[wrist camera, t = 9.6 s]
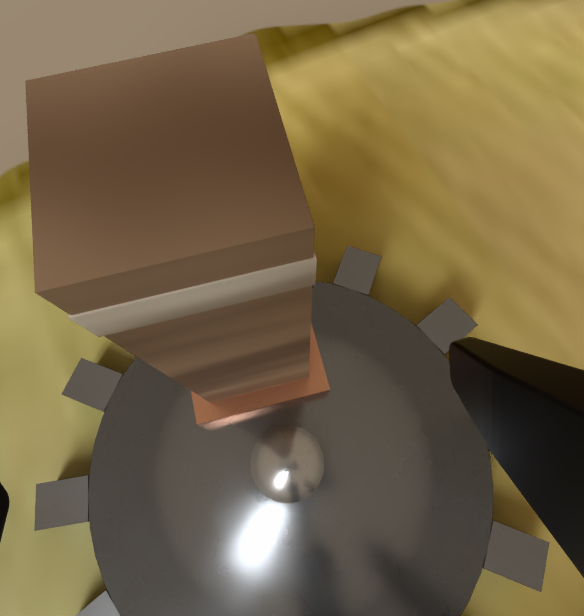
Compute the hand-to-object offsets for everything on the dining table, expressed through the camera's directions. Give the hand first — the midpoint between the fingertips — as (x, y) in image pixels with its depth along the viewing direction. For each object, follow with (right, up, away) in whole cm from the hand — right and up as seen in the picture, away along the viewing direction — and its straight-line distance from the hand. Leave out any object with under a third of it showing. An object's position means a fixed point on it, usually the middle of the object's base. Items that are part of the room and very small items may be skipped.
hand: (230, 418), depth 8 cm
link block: (-1, +1, +12) cm, 12 cm away
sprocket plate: (+1, -5, +11) cm, 12 cm away
